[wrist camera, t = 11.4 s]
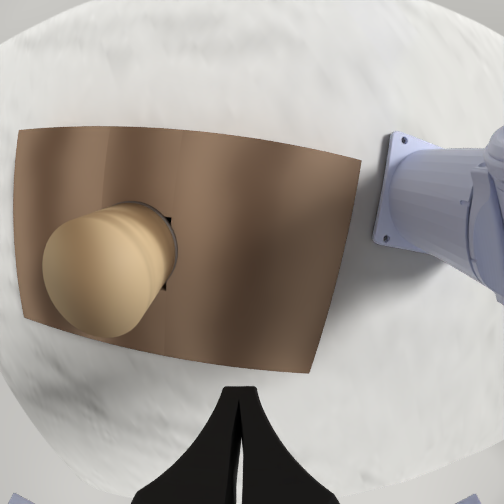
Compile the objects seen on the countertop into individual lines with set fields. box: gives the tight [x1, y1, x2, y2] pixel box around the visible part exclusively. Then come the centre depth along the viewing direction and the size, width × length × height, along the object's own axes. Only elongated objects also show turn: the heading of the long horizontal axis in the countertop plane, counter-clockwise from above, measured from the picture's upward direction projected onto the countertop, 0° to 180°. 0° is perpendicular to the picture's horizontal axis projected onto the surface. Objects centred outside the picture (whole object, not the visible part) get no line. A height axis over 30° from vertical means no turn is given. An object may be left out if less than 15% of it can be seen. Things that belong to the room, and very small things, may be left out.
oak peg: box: [42, 201, 178, 338], centre depth 15 cm, size 6×6×8 cm
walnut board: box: [13, 126, 362, 373], centre depth 18 cm, size 22×14×3 cm, turn 81°
